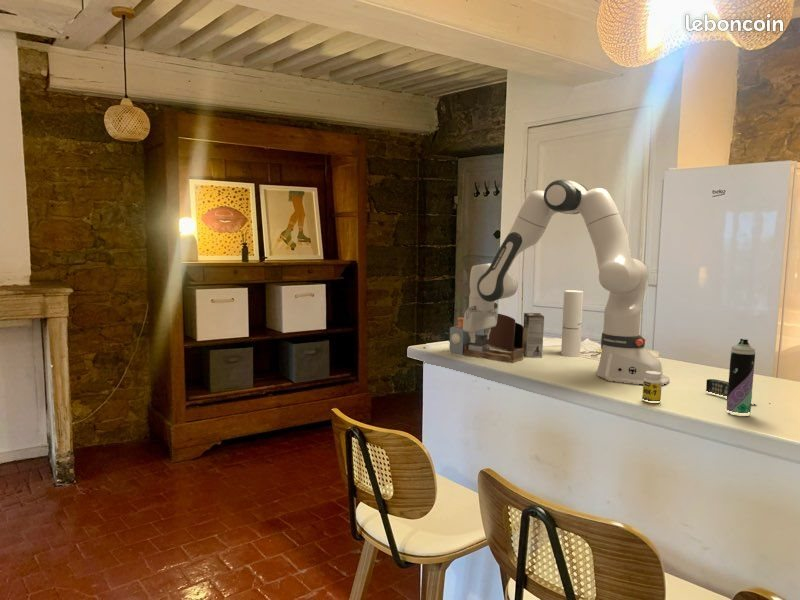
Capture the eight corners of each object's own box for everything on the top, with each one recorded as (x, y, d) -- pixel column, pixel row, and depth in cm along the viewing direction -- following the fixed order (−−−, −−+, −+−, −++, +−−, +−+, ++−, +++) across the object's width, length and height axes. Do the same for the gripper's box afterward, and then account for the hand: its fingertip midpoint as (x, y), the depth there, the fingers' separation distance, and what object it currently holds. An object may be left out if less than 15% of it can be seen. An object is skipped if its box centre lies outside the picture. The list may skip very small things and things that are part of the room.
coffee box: (521, 352, 233) (523, 312, 232) (538, 353, 233) (539, 312, 231) (526, 357, 224) (527, 315, 222) (543, 357, 224) (544, 316, 222)
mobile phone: (704, 378, 176) (752, 389, 162) (711, 377, 177) (759, 388, 163) (704, 394, 176) (751, 407, 162) (711, 393, 177) (758, 405, 164)
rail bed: (523, 359, 220) (523, 349, 220) (513, 363, 214) (513, 352, 213) (474, 352, 233) (474, 342, 232) (463, 355, 227) (463, 344, 226)
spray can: (727, 415, 154) (733, 339, 152) (724, 409, 159) (730, 336, 157) (751, 418, 152) (758, 341, 150) (747, 412, 157) (754, 338, 155)
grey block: (473, 352, 233) (473, 327, 232) (461, 355, 227) (462, 329, 226) (460, 350, 237) (460, 325, 236) (448, 353, 230) (449, 327, 229)
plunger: (468, 334, 231) (468, 318, 231) (463, 335, 229) (463, 319, 228) (460, 333, 234) (460, 317, 233) (455, 334, 231) (455, 318, 230)
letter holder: (512, 352, 235) (514, 317, 234) (482, 343, 252) (483, 311, 251) (532, 350, 240) (533, 315, 238) (501, 342, 257) (502, 310, 256)
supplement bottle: (639, 401, 166) (641, 372, 165) (645, 398, 169) (646, 369, 168) (657, 405, 163) (659, 375, 162) (662, 401, 166) (664, 372, 165)
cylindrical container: (584, 355, 230) (587, 291, 227) (571, 357, 226) (575, 292, 223) (569, 352, 236) (572, 290, 233) (557, 354, 232) (560, 290, 229)
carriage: (489, 352, 227) (490, 334, 227) (482, 354, 223) (482, 336, 222) (476, 350, 231) (476, 332, 230) (468, 352, 226) (468, 334, 226)
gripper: (473, 308, 215) (472, 345, 216) (500, 303, 231) (499, 338, 232) (459, 306, 219) (458, 343, 220) (486, 302, 235) (485, 336, 236)
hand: (479, 341), depth 226 cm, fingers open, 8 cm apart
